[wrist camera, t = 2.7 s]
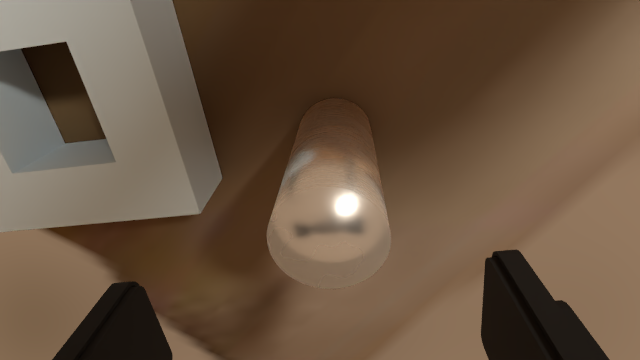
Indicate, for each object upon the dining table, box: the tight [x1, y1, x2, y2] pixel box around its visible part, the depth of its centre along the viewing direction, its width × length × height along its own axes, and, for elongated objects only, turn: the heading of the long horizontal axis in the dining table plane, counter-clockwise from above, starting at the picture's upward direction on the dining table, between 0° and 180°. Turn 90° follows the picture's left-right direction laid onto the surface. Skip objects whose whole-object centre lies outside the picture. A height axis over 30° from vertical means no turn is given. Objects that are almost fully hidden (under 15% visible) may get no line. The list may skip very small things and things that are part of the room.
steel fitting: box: [267, 98, 391, 289], centre depth 17 cm, size 4×4×10 cm
